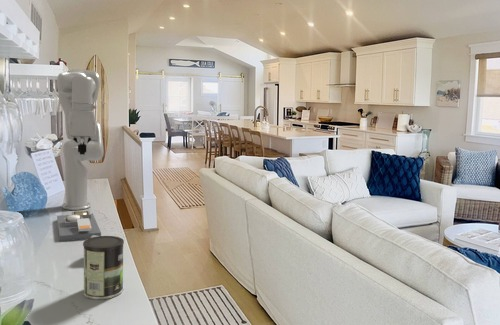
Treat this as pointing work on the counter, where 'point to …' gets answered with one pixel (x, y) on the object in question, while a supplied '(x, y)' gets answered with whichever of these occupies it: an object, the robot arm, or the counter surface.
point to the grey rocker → (84, 224)
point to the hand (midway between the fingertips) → (82, 154)
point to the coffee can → (103, 267)
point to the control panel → (76, 228)
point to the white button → (73, 218)
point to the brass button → (81, 213)
